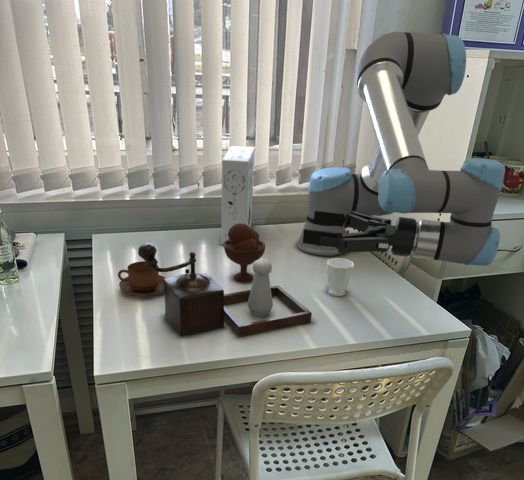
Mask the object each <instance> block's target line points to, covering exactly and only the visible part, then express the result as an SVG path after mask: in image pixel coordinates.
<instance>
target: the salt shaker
mask: <svg viewBox="0 0 524 480" xmlns="http://www.w3.org/2000/svg"><path fill="white" fill-rule="evenodd" d="M251 267H252V271H253V272H254V273H253V274H254V275H253V280H252V282H251V287H250V290H251V291H250V295H249V300H248V301H247V308H248V310H249V312H250V314H251V316H253V318H258V319H264V318H267V317H269V315H270V313H271V311H272V309H273V308H274V302H273V297H272V294H271V282H270V274H271V272H272V270H273V264H272V262H271V260H268V259H263V258H260V259H258V260H256V261H254V263H252V266H251Z"/></svg>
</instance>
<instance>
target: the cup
mask: <svg viewBox="0 0 524 480" xmlns="http://www.w3.org/2000/svg"><path fill="white" fill-rule="evenodd" d="M354 268H355V263H354V261H352V260H349V259H347V258H342V257H333V258H330V259H327V268H326V274H327V284H328V294H330V295H332V296H334V297H342V296H345V295H346V291H347V289H348V287H349V284H350V281H351V278H352V276H353V275H352V274H353V271H354Z"/></svg>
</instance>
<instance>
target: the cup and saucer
mask: <svg viewBox="0 0 524 480" xmlns="http://www.w3.org/2000/svg"><path fill="white" fill-rule="evenodd" d="M156 266H157V267H159V265H158V264H157V265H156ZM126 267H127V269H120V270H119V271H118V273H117V278H118V279H119V280H120V281H119V283H118V286H119V289H120V291H122V292H124V293H125V294H127V295H129V296H134V297H151V296H155V295H159V294H161V293H164V279H166V278H167V277H166V276H163V275H160V272H158V271H155V270H154V269H152V268H151V267H146V266H145V260H142V261H135V262H132V263H130V264H129V265H128V266H126ZM122 273H126V274H127V276H125V277H122Z"/></svg>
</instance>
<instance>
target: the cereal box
mask: <svg viewBox="0 0 524 480" xmlns="http://www.w3.org/2000/svg"><path fill="white" fill-rule="evenodd" d="M254 163H255V147H254V146H253V147H252V146H235V145H233V146H232V145H231V146H229V149H228V150H227V152H226V153H225V155H224V157H223V158H222V160H221V239H220V240H221V245H222V246H224V244H223V242H224V241H226V240H228V239H229V237H228V232H229V229H230V228H231V227H232V226H233V225H235V224H238V223H242V224H246V225H248V226H249V227H250V228H252V223H253V222H252V221H253V220H252V219H253V196H254V195H253V194H254V193H253V192H254V191H253V190H254V167H255V164H254Z"/></svg>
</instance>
